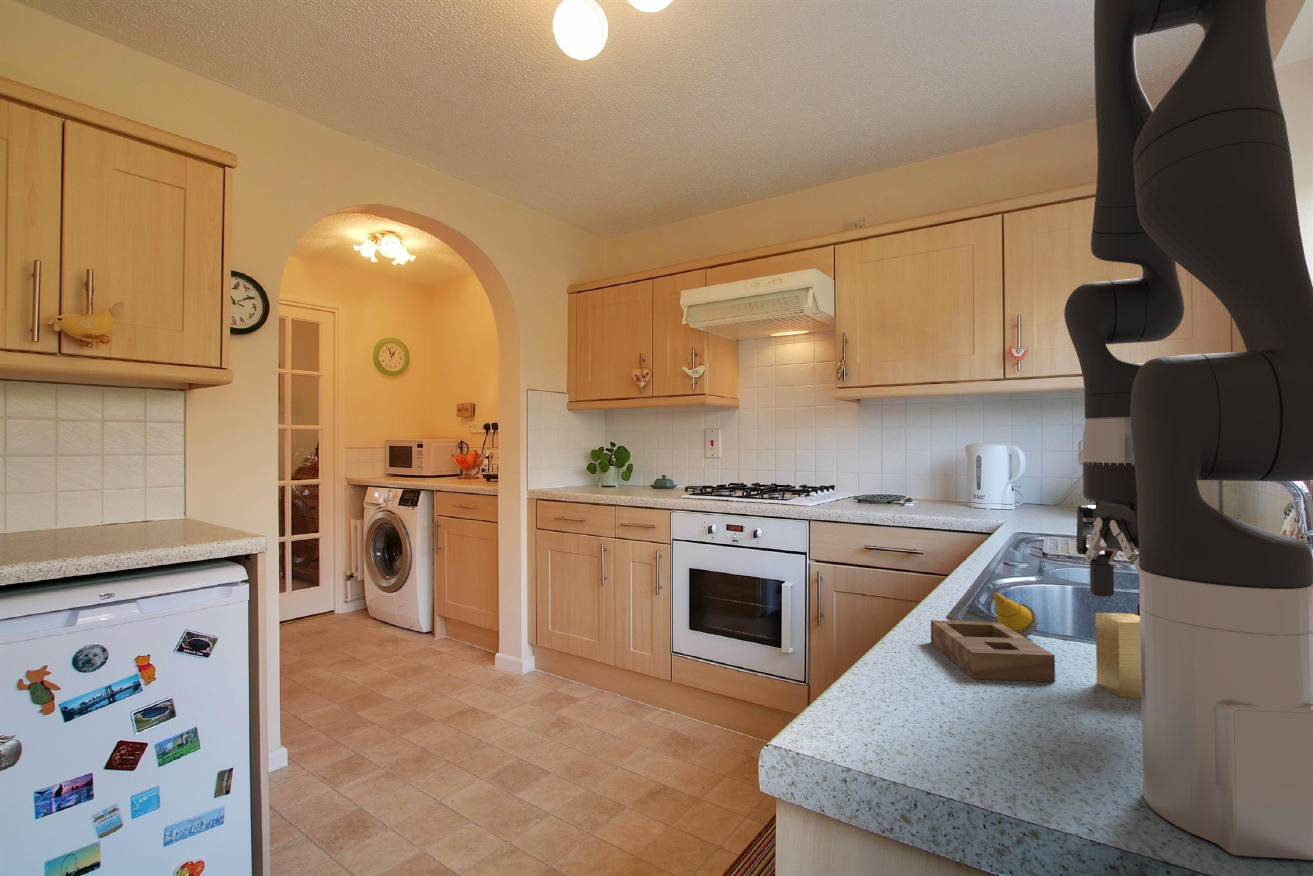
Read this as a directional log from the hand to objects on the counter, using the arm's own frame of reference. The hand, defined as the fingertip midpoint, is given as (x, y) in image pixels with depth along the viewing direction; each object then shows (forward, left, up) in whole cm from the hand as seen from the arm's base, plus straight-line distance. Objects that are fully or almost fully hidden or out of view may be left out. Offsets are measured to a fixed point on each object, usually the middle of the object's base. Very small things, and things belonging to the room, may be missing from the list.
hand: (1125, 605), depth 68 cm
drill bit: (+19, +3, -10) cm, 21 cm away
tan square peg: (0, 0, -9) cm, 9 cm away
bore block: (+9, +11, -9) cm, 17 cm away
